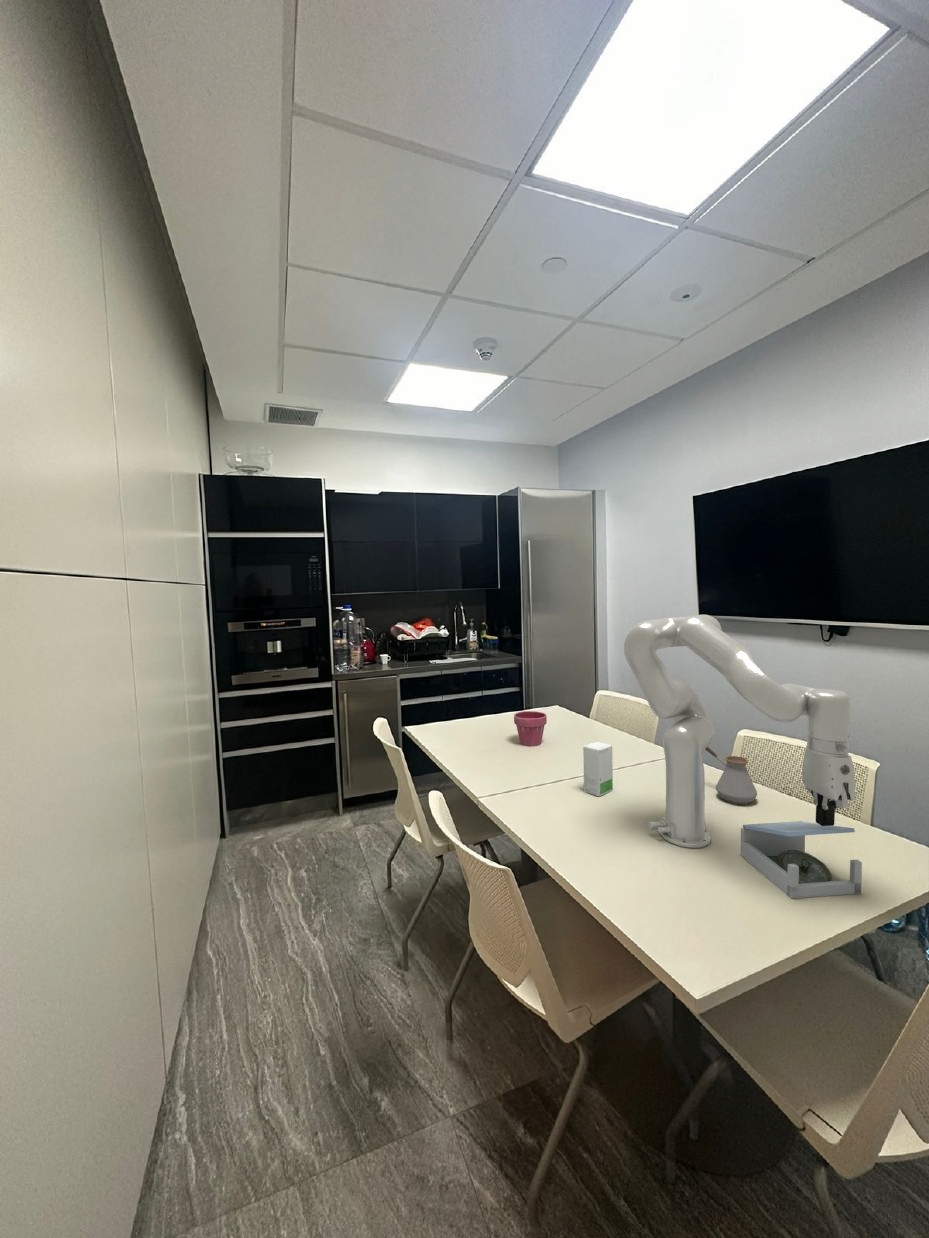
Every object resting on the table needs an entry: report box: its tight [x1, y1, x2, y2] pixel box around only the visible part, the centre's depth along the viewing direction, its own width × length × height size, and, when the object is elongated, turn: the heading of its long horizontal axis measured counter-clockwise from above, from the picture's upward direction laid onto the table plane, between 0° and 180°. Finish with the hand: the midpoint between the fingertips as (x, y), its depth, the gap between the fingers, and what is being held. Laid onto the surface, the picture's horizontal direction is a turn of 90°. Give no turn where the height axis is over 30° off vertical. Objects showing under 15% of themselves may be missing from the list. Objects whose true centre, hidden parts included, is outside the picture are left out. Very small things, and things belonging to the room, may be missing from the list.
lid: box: [776, 850, 833, 884], centre depth 113 cm, size 11×10×5 cm
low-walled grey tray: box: [740, 827, 863, 899], centre depth 115 cm, size 16×17×7 cm
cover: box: [742, 820, 856, 836], centre depth 115 cm, size 15×17×1 cm
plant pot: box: [513, 710, 548, 747], centre depth 215 cm, size 14×14×13 cm
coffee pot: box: [704, 746, 758, 805], centre depth 159 cm, size 21×12×15 cm, turn 23°
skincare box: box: [582, 741, 614, 798], centre depth 163 cm, size 8×7×16 cm
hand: (824, 823), depth 111 cm, fingers closed
